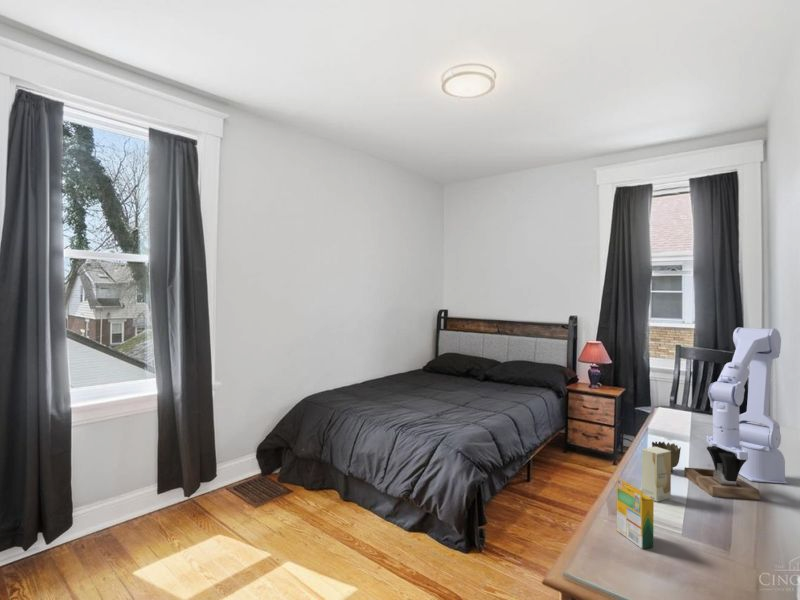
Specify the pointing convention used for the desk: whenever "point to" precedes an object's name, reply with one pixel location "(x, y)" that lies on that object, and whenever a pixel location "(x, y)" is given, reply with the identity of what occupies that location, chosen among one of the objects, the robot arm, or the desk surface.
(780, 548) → the desk surface
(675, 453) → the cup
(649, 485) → the skincare box
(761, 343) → the robot arm
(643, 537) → the crayon box
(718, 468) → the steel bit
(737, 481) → the socket board
